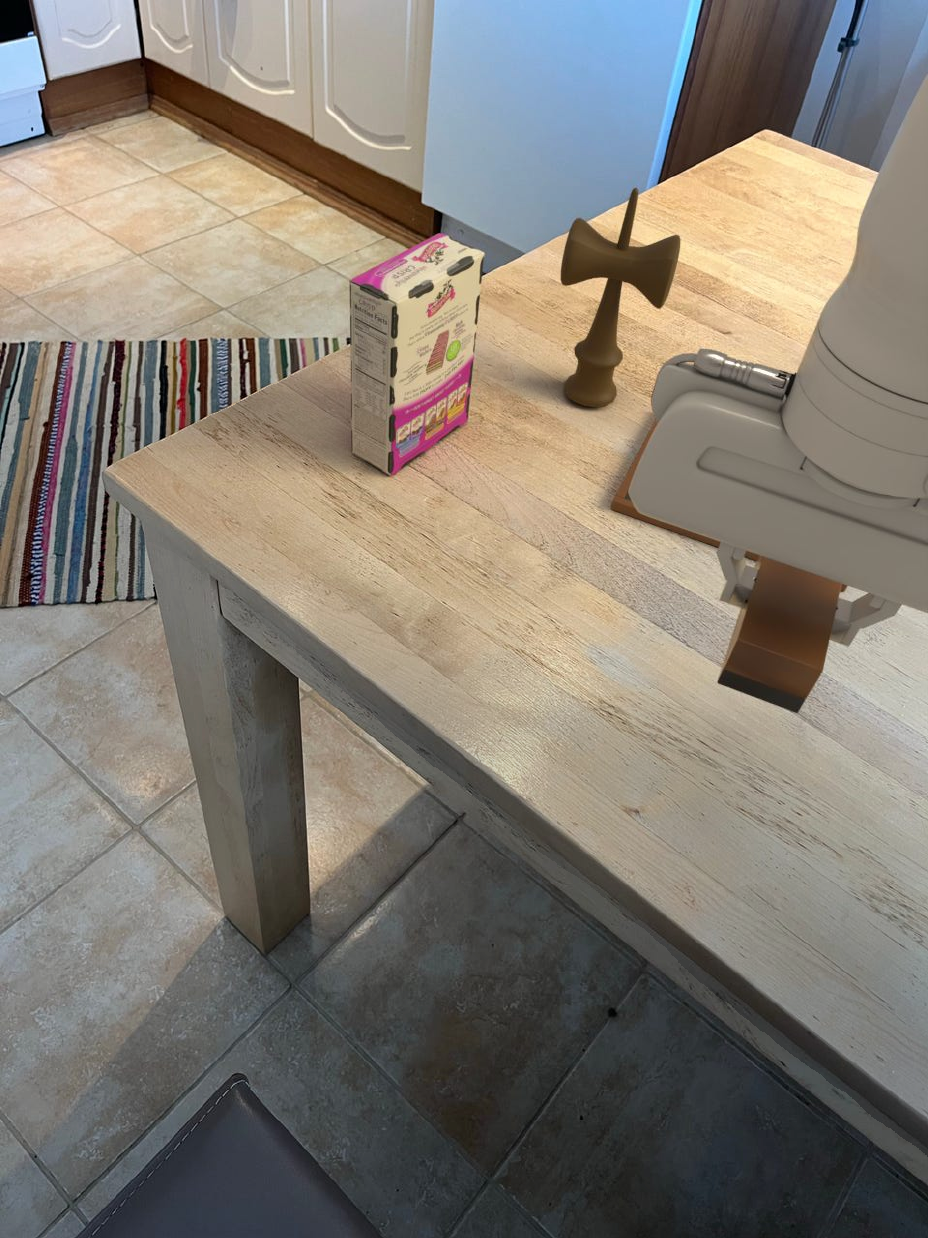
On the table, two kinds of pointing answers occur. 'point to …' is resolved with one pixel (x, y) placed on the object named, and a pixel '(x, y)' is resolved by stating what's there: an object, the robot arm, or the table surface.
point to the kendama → (612, 297)
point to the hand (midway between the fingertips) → (784, 616)
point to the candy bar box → (412, 350)
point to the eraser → (781, 635)
